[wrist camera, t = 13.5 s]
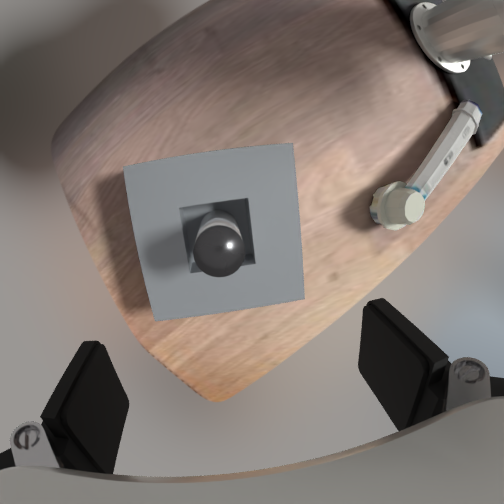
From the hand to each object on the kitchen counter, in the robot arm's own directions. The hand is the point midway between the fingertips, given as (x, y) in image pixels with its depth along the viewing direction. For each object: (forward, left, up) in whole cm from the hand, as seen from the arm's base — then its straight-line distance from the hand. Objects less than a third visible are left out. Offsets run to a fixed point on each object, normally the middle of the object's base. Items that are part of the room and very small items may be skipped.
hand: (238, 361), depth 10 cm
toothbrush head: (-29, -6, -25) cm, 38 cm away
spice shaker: (0, 0, -23) cm, 23 cm away
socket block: (0, 0, -24) cm, 24 cm away
